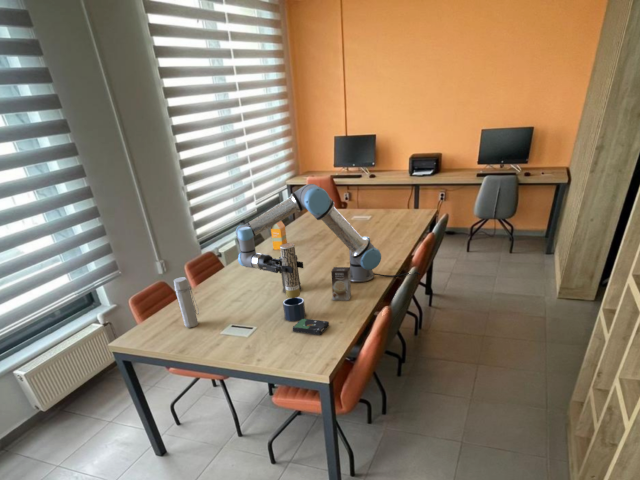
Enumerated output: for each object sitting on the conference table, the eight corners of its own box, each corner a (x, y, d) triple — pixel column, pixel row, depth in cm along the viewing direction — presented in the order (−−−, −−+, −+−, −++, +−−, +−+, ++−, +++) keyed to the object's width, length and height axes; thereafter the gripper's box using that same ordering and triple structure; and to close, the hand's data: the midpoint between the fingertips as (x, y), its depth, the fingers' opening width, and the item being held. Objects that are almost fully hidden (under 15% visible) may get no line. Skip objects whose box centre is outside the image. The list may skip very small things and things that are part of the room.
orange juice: (273, 249, 332) (269, 221, 320) (278, 245, 338) (274, 217, 327) (283, 249, 329) (279, 221, 318) (287, 245, 336) (284, 217, 324)
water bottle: (187, 329, 235) (174, 283, 220) (183, 324, 240) (170, 279, 226) (203, 324, 237) (192, 278, 223) (199, 319, 243) (187, 274, 229)
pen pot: (307, 312, 234) (305, 297, 229) (303, 321, 226) (301, 305, 221) (287, 312, 237) (285, 297, 232) (283, 321, 229) (280, 305, 224)
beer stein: (299, 293, 256) (296, 257, 246) (281, 294, 259) (277, 258, 248) (304, 285, 269) (301, 250, 258) (286, 286, 271) (283, 252, 261)
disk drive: (329, 326, 218) (302, 322, 225) (329, 321, 216) (301, 317, 223) (320, 336, 211) (292, 332, 217) (319, 330, 209) (291, 326, 216)
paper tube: (286, 294, 228) (279, 244, 213) (299, 292, 228) (293, 242, 213) (287, 299, 222) (280, 248, 208) (300, 297, 222) (295, 246, 208)
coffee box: (332, 300, 243) (330, 271, 234) (335, 295, 248) (333, 266, 238) (348, 300, 240) (347, 271, 231) (351, 295, 245) (350, 266, 235)
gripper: (277, 263, 235) (311, 268, 221) (250, 275, 224) (285, 282, 210) (275, 248, 230) (309, 253, 217) (248, 260, 219) (282, 266, 206)
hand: (297, 267), depth 213 cm, fingers closed on paper tube, 7 cm apart
